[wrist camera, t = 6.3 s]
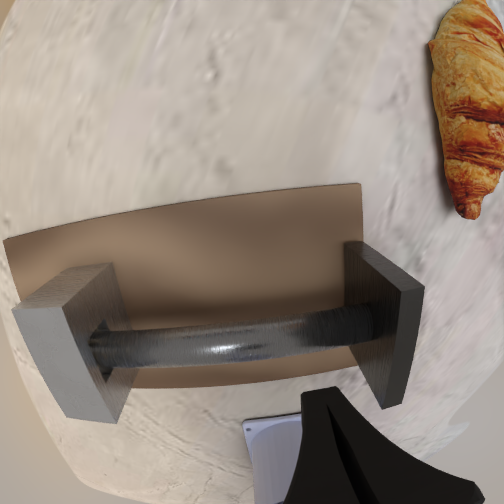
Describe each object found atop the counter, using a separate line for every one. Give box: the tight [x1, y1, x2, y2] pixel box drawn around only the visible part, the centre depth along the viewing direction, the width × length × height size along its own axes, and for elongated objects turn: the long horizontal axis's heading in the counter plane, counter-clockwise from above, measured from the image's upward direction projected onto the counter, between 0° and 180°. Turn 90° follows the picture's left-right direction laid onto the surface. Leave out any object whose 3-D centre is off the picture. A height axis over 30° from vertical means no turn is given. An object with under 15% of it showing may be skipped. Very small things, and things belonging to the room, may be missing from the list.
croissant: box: [428, 0, 504, 220], centre depth 13 cm, size 21×10×8 cm, turn 168°
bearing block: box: [11, 262, 140, 424], centre depth 16 cm, size 8×4×7 cm, turn 7°
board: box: [3, 183, 363, 388], centre depth 20 cm, size 14×27×1 cm, turn 97°
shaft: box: [87, 241, 425, 410], centre depth 15 cm, size 7×17×7 cm, turn 97°
